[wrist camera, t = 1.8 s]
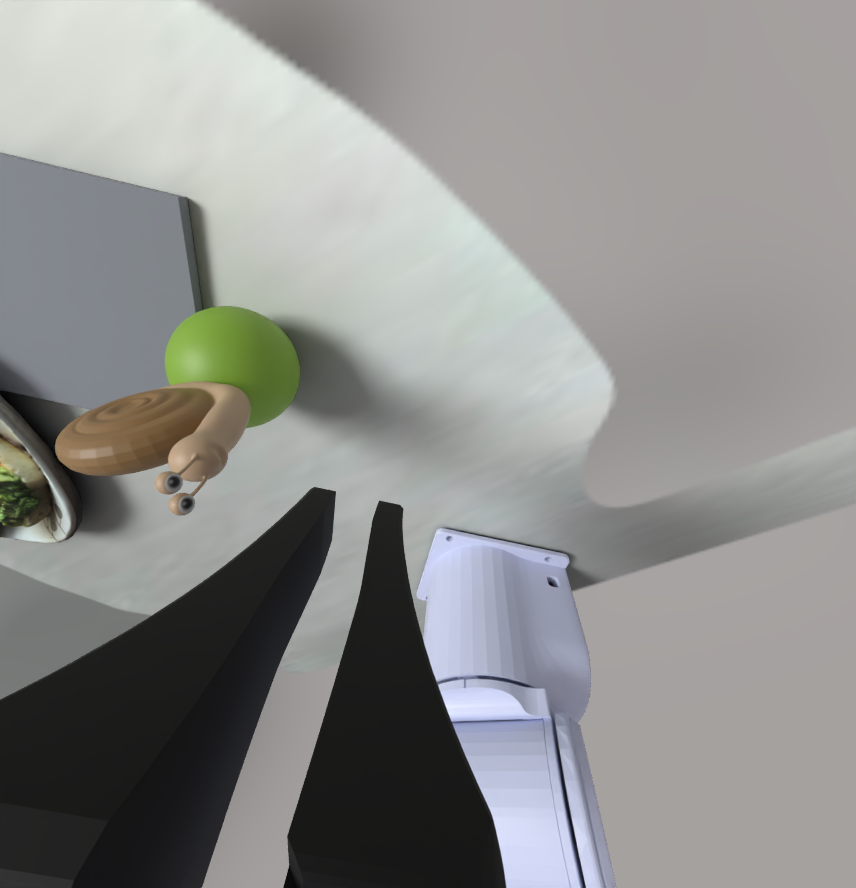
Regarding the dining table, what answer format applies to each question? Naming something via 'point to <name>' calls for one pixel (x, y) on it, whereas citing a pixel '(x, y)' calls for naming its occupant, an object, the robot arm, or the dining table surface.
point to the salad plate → (33, 485)
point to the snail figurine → (191, 404)
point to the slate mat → (89, 283)
